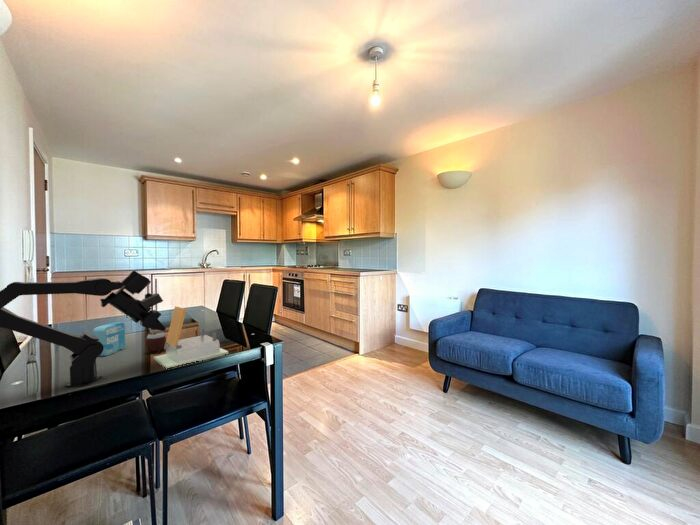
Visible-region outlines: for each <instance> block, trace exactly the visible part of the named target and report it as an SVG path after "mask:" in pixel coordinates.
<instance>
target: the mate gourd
mask: <svg viewBox="0 0 700 525" xmlns="http://www.w3.org/2000/svg"><path fill="white" fill-rule="evenodd" d="M148 330H149V333H148V334H147V336H146V340H145V343H146V344H145V345H146V347H147V354H148V355H151V354H161V353H162V352H163V350H164V351H166V348H165V347H166V340H167V336H166V334H165V332H164V331H156V332H153V331H152V330H153V329H151V328H148Z"/></svg>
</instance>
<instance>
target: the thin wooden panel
mask: <svg viewBox="0 0 700 525" xmlns="http://www.w3.org/2000/svg"><path fill="white" fill-rule="evenodd" d="M173 309H174V310H173V314H172V318H171V321H170V325H169V327H168V328H169V329H168V332H167V336H166V342H167V343H169V344H170V345H172V346H174V347H176V346H177V345H178V341H179V340H180V337H181V333H182V328H183V325H184V320H185V317H186V313H187V308H183V307H180V306H174V308H173ZM166 342H165V343H166Z"/></svg>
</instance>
